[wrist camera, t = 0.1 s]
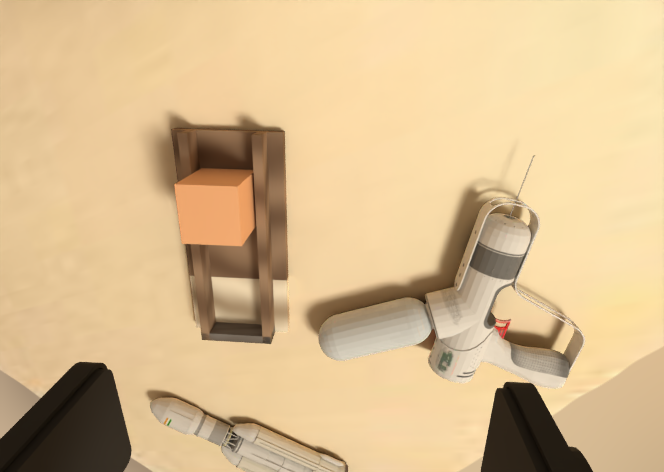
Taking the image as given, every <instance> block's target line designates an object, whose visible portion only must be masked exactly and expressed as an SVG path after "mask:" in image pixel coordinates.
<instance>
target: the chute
mask: <svg viewBox="0 0 664 472" xmlns="http://www.w3.org/2000/svg"><path fill="white" fill-rule="evenodd" d="M171 130H172V138H173V146H174V154H175V162H176V170H177V178H178V182H179V181H181V180H182V179H184V178H186V177H187V176H189V175H191V174H193V173H194V172H196V171H198V170H199V169H201V168H213V169H243V170H253V172H254V190H255V209H256V227H255V228H254V229H253V231H252V232H251V234H250V235H249V237H248V238H247V240H246V241H245V242H244V244H243V245H242V246H223V245H201V244H186V250H187V257H188V265H189V273H190V281H191V289H192V297H193V305H194V313H195V321H196V327H200V328H201V335H202V340H214V341H231V342H248V343H265V344H271V342H272V339H273V336H274V333H275V332H288V331H289V291H288V250H287V209H286V168H285V131H256V130H221V129H185V128H174V129H171Z"/></svg>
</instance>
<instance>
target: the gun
mask: <svg viewBox="0 0 664 472" xmlns="http://www.w3.org/2000/svg"><path fill="white" fill-rule="evenodd" d="M533 158H534V156H533ZM533 158H532V160H533ZM532 160H531V163H532ZM531 163H530V165H531ZM530 165H529V168H530ZM529 168H528V170H529ZM527 173H528V171H527ZM527 173H526V176H527ZM526 176H525V178H526ZM525 178H524V181H525ZM524 181H523V183H524ZM523 183H522V186H523ZM522 186H521V188H522ZM521 188H520V191H521ZM520 191H519V193H520ZM518 196H519V194H518ZM518 196H517V198H518ZM498 199H506V200H511V201H515V203H511V202H505V203H500V204H497V205H494V206H492V205H491V204H490V203H491V202H492V201H494V200H498ZM516 202H520V203H522V204H524V205H520V204H516ZM506 204H511V205H514V206H515V205H516V206H520V207H525V208H528V210H529V212H530V223H529V225H528V226H527V225H526V224H525V223H524V222H523V221H522V220H520V219H518V218H516V217H514V216H511V214H512V211H513V209H514V206H513V209H512V211H511V214H510V215H507V214H502V213H494V214H489V213H490V212H491V211H492V210H494V209H495V208H497V207H498V206H501V205H506ZM532 211H533V212H532ZM539 227H540V220H539V217H538V215H537V213H536V212H535V211H534V210H533V209H531V208H530V207H528V206H527V205H526V204H525V203H524V202H522V201H519V200H517V199H516V200H515V199H510V198H506V197H498V198H494V199H491V200H490V201H488V202H487V203H485V204H484V205H483V206H482V207H481V209H480V211H479V214H478V217H477V219H476V222H475V225H474V228H473V230H472V233H471V236H470V239H469V242H468V244H467V247H466V250H465V253H464V255H463V258H462V261H461V264H460V267H459V269H458V272H457V275H456V278H455V283H454V287H451V288H447V289H443V290H439V291H435V292H431V293H427V294H426V295H425V298H426V301H427V303H425V304H424V303H423V302H421V301H420V300H418V299H415V298H401V299H397V300H393V301H389V302H385V303H381V304H376V305H372V306H368V307H364V308H360V309H356V310H352V311H348V312H344V313H340V314H336V315H333V316H331V317H329V318H328V319H327V320H326V321H325V322H324V323H323V324H322V326H321V328H320V330H319V344H320V347H321V349H322V351H323V352H324V353H325V354H326V355H327V356H328V357H330V358H331V359H334V360H337V361H345V360H349V359H354V358H358V357H363V356H367V355H371V354H376V353H380V352H385V351H389V350H394V349H398V348H403V347H407V346H412V345H416V344H419V343H421V342H423V341H424V340H425V339H426V338H427V337H428V336H429V334H430V333H431V330H432V329H434V330H435V333H436V339H435V341H434V344H433V347H432V350H431V352H430V355H429V358H428V363H429V365H430V367H431V368H432V370H433V371H434V372H435V373H436V374H437V375H439V376H440V377H442V378H443V379H444V378H445V379H447V380H449V381H452V382H455V383H467V382H469V381H470V380H471V379H472V378H473V375H474V373H475V371H476V368H478V367H479V365H480V362H487V363H490V364H492V365H495V366H497V367H499V368H501V369H504V370H506V371H508V372H510V373H513V374H515V375H517V376H519V377H521V378H522V379H524V380H526V381H528V382H531V383H533V384H535V385H537V386H540V387H545V388H551V389H557V388H561V387H562V386H563V385H564V384H565V382H566V379H567V377H568V375H569V373H570V371H571V369H572V367H573V365H574V363H575V361H576V359H577V358H578V356H579V354H580V352H581V350H582V348H583V346H584V343H585V337H584V335H583V333H582V331H581V330H580V329H579V328H578V327H577V326H576V325H575V323H574V322H573V321H572V320H571V319H570V318H568V317H566V316H564V315H563V314H561V313H559V312H557V311H556V310H554V309H552V308H550V307H549V306H547V305H545V304H544V303H542V302H540V301H538V300H537V299H535V298H533V297H531V296H530V295H528V294H526V293H524V292H523V291H521V290H519V289H517V288H516V284H517V280H518V277H519V275H520V273H521V270H522V268H523V266H524V263H525V261H526V259H527V256H528V254H529V252H530V249H531V247H532V245H533V242H534V240H535V238H536V235H537V233H538V230H539ZM510 285H512V287H513V288H514V290H515V291H516V292H517V294H518V295H519V296H520V297H521V298H523V299H524V300H526V301H528V302H530V303H531V304H533V305H535V306H537V307H538V308H540V309H542V310H544V311H545V312H547V313H549V314H551V315H552V316H554V317H556V318H558V319H559V320H561V321H563V322H565V323H566V324H568V325H570V326H572V327H573V328H574V334H573V336H572V338H571V340H570V342H569V344H568V346H567V348H566V350H565V352H564V354H561V353H560V352H558V351H555V350H551V349H545V348H535V347H526V346H521V345H517V344H514V343H511V342H509V341H507V340H505V339H503V338H504V335H505V333H506V331H507V329H508V326H509V324H510V322H511V319H510V320H498V319H496V318H495V317H494V315H493V314H492V313H491V312H490V311H491V309H492V307H493V304H494V302H495V299H496V297H497V295H498V293H499V292H500V291H501V290H502V289H503V288H505V287H508V286H510ZM519 292H521V293H523V294H524V295H526V296H528V297H530V298H531V299H533V300H535V301H537V302H538V303H540V304H542V305H544V306H545V307H547V308H549V309H550V310H552V311H554V312H556V313H557V314H559V315H561V316H563V317H564V318H566V319H568V320H569V321H571V322H572V324H573V325H572V324H570V323H568V322H567V321H565V320H563V319H561V318H560V317H558V316H556V315H554V314H553V313H551V312H549V311H547V310H546V309H544V308H542V307H540V306H539V305H537V304H535V303H533V302H532V301H530V300H528V299H526V298H525V297H523V296H522V295H521V294H520V293H519ZM496 322H499V323H507V324H506V326H505V327H498V326H495V323H496Z"/></svg>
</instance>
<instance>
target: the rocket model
mask: <svg viewBox="0 0 664 472" xmlns="http://www.w3.org/2000/svg"><path fill="white" fill-rule="evenodd" d="M150 408H151V411H152V413H153V414H154V416H155V417H156V418H157V419H158V420H159V422H160V423H162V424H164V425H166V426H168V427H170V428H172V429H175V430H177V431H179V432H181V433H183V434H189V435H193V434H194V435H196V436H197V437H198V436H199V437H201V438H203V439H206V440H208V441H210V442H212V443H215V444H217V445H219V446H222V447H221V450H222V453H223V454H224V455H225V457H226V458H227V459H228V460H229V462H231V463H232V464H233V465H236V467H237V468H239V469H241V470H244V471H246V472H348V465H345V462H344V461H339V460H337V459H335V458H333V457H330V456H328V455H326V454H322V453H318V452H316V451H314V450H312V449H310V448H307V447H305V446H303V445H301V444H299V443H297V442H294V441H292V440H290V439H288V438H286V437H283V436H281V435H279V434H277V433H275V432H273V431H270V430H268V429H266V428H264V427H262V426H261V425H257V424H254V423H245V424H237V425H235V426H234V427H233V428H232V427H231V428H230V425H228V424H225V423H223V422H221V421H219V420H217V419H214V418H212V417H210V416H208V415H205V414H203V412H202V411H201V410H200V409H199V408H197V407H194V406H192V405H190V404H188V403H186V402H184V401H181V400H179V399H177V398H157V399H155V400H153V401H151V402H150ZM233 432H234V433H233ZM228 443H229V444H228ZM221 444H222V445H221Z"/></svg>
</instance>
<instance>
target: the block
mask: <svg viewBox="0 0 664 472" xmlns="http://www.w3.org/2000/svg"><path fill="white" fill-rule="evenodd" d="M174 187H175V194H176V202H177V210H178V217H179V225H180V233H181V241H182V244H201V245H223V246H242V245H243V244H244V242H245V241H246V240H247V238H248V237H249V235H250V234H251V232H252V231H253V229H254V228H255V227H256V209H255V190H254V172H253V170H243V169H213V168H201V169H199V170H198V171H196V172H194V173H193V174H191V175H189V176H187V177H186V178H184V179H182V180H181V181H179V182H177V183H176V184H174Z"/></svg>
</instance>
